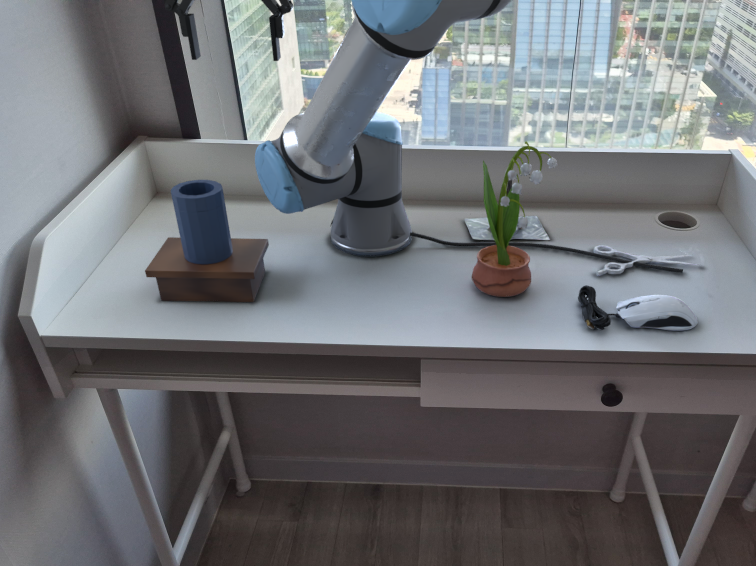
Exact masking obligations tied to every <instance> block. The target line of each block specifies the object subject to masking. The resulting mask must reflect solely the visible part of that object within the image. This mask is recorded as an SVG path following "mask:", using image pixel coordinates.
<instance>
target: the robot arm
mask: <svg viewBox="0 0 756 566" xmlns="http://www.w3.org/2000/svg"><path fill="white" fill-rule="evenodd" d="M195 1H196V0H181V2H180V3H179V0H165V3H164V9H165V10H166V11H168V12H172V13H175V14H176V15H177V17H178V20H179V26H180V33H181V35H182V37H183V38H187V39H188V45H189V51H190V57H191V61H197V60H199V58H201V56H202V55H201V49H200V43H199V38H198V31H197V25H196V24H197V23H196V19H195V14H194V13H189V12H190V9H191V8H192V6H193V4H194V2H195ZM260 1H261V2H262V3H263V5H264V6H265V7H266V8H267V10H269V11H270V13H271V15H270V16H269V17H268V21H269V30H270V40H271V41H270V42H271V49H272V50H271V51H272V59H273V62H279V61H280V60H281V58H282V56H281V45H280V39H283V38H284V37H285V23H284V15H286V14H289V13H291V12H292V10H294V7H295V6H294V3H293V1H292V0H278V1H277V0H260ZM350 1H351V8H352V13H353V15H354V18H353V20H352V22H351V24H350V26H349V27H348V29H347V31H346V34H345V35H344V37H343V39H342V41H341V43H340V45H339V46H338V49H337V50H336V52H335V54H334V56H333V58H332V60H331V61H330V64H329V65H328V66H327V69H326V71H325V73H324V75H323V76H322V79H321V80H320V82H319V84H318V86H317V87H316V90H315V91H314V93H313V96H312V97H311V99H310V101H309V103H308V104H307V107H306V108H305V110H304V112H302V113H298V114H296V115H294V116H292V117H291V118H290V119H289V120H288V121H287V122H286V124H285V125H284V127H283V130H282V131H281V134H280V136H279V137H277V138H276V139H273V140H270V139H268V140H265V142H262V143H260V144H258V145H257V147H256V149H255V153H254V165H255V170H256V173H257V178H258V181H259V183H260V186H261V188H262V191H263V193H264V194H265V196H266V198H267V199H268V201H269V202H270V204H271V205H272V206H273V207H274V208H275V209H276V210H278V211H279V212H281V213H282V214H284V215H285V214H286V215H290V214H295V213H302V212H303V213H304V211H305V210H308V209H311V208H314V207H317V206H320V205H323V204H327V203H330V202H333V201H336V200H337V203H336V208H335V211H334V215H333V218H332V220H331V222H330V225H329V226H330V227H329V228H330V242H331V244H332V246H333V247H334V248H336V249H337V250H339V251H340V252H343V253H346V254H349V255H351V256H357V257H381V256H382V257H383V256H389V255H391V254H396V253H398V252H401V251H402V250H403V251H404V250H405V249H406V248H407V247H408V246H410V244H411V243H412V239H413V238H414V237H415V238H418V239H421V240H422V239H423V240H426V241H430V242H433V243H437V244H439V245H444V246H450V247H488V246H493V245H496V243H495V241H493V242H492V241H485V242H484V241H480V242H479V241H477V242H475V241H474V242H455V241H446V240H442V239H440V238H436V237H433V236H430V235H425V234H421V233H418V232H417V233H416V232H413V230H412V226H411V222H410V220H409V216H408V214H407V210H406V208H405V205H404V202H403V178H402V177H403V168H402V167H403V145H404V144H403V143H404V142H403V140H402V139H403V138H402V126H401V123H400V121H399V120H398V119H397V118H396V117H394V116H393V115H391V114H387V113H384V112H379V111H378V110H379V109H380V107H381V105H382V104H383V103H384V101H385V100H386V98H387V96H388V95H389V94H390V92H391V91H392V89H393V88H394V86H395V85H396V84H397V82H398V80H399V79H400V78H401V76H402V75H403V73H404V71H405V70H406V68H408V66H409V64H411V63H410V62H411V61H414V60H422V59H424V58H426V57H427V56H429V55H430V54H431V53H432V52H433V51H434V50H435V48H436V47H437V45H438V44H439V43H440V41H441V40H442V38H443V37H444V35H445V34H446V32H447V31H448V30H449V29H450V28H451V27H452V26H453V25H455V24H459V23H464V22H469V21H475V20H482V19H486V18H489V17H493V16H494V15H496V14H498V13H500V12H502V11H503V10H504V9H505V8H507V7H508V6H509V5H510V4H511V3H512V2H513V0H350ZM508 246H513V247H527V248H539V249H547V250H548V249H549V250H555V251H562V252H567V253H569V252H570V253H573V254H578V255H583V256H589V257H593V258H598V259H603V260H608V261H611V262H615V263H620V264H624V263H630V262H632V261H633V260H630V259H629V260H628V259H624V258H620V257H615V256H607V255H602V254H597V253H594V252H592V251H587V250H583V249H577V248H573V247H566V246H559V245H554V244H546V243H535V242H517V241H509V244H508ZM633 266H635V267H639V268H645V269H649V270H651V269H652V270H657V271H665V272H671V273H679V274H683V273H684V268H676V267H671V266H664V265H656V264H649V263H639V262H634V263H633Z"/></svg>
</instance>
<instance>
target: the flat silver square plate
mask: <svg viewBox="0 0 756 566" xmlns="http://www.w3.org/2000/svg"><path fill="white" fill-rule="evenodd" d="M512 185H513V180H512V179H511V180H508V184H507V188H506V191H507V195H508V193H509V191H510V190H511V188H512ZM520 217H524V215H521V216H520V215H519V217H518V220H519V218H520ZM525 217H526V218H527V219H528V224H527V226H528V227H525V229H523V228H522V227H521V228H519V227H518V225H517V228H516V231H515V233H514V234H513V236H512V238H511V240H540V241H551V238H550V237H549V235H548V234H547V232H546V230H545V228H544V226H543V225H542V223H541V221H540V219H539V217H538V216H537V215H525ZM463 219H464V223H465V225H466V227H467V229H468V231H469V234H470V236H471V238H472V240H479V241H480V240H481V241H482V240H483V241H495V240H494V238H493V235H492V232H491V229H490V226H489V223H488V219H487V216H486V217H475V218H463ZM517 224H518V223H517Z"/></svg>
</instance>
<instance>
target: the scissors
mask: <svg viewBox="0 0 756 566" xmlns="http://www.w3.org/2000/svg"><path fill="white" fill-rule="evenodd" d="M593 253H597V254H602V255H607V256H611V257H613V256H619V257H624V258H628V259H629V260H631V261H632V262H630V263H620V262H616V261H611V262H608V263H606V264H605V265H604V267H603V269H601V270H597V271H596V276H598V277H600V276H603V275H605V274H609V275H621V274H623V273H624V271H625V269H626V268H632V267H633V266H634V265H633V263H634V262H639V263H644V264H649V263H659V264H674V265H686V266H687V265H688V266H700V264H699V263H692V262H684V261H676V260H670V259H677V258H684V257H689V256H692V254H679V255H678V254H676V255H660V256H658V255H657V256H648V255H640V254H634V253H633V254H632V253H628V252H626V251H620V250H617V249H615V248H614V247H611V246H608V245H596V246H594V247H593ZM611 268H616V269H611Z"/></svg>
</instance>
